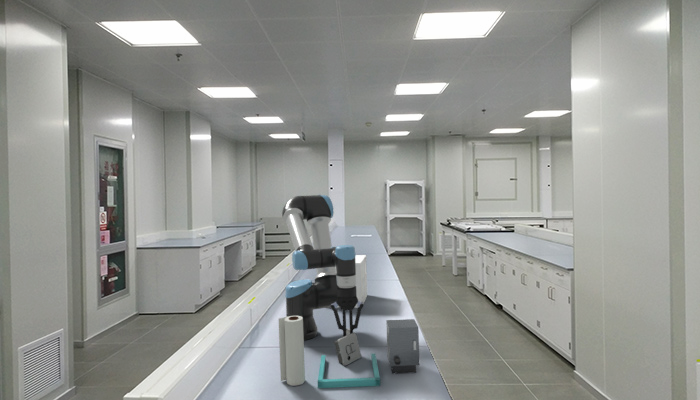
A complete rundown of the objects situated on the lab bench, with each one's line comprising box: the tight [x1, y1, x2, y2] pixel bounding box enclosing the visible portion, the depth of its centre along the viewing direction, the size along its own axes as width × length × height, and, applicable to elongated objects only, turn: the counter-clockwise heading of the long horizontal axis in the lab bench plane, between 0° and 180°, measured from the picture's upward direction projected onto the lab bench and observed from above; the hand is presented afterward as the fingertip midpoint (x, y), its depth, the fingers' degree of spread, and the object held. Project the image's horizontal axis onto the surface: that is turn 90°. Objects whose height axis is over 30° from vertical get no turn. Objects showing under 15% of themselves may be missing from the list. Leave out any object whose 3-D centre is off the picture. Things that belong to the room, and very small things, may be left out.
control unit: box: [385, 318, 420, 374], centre depth 135 cm, size 10×10×16 cm
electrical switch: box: [333, 332, 362, 366], centre depth 144 cm, size 9×5×9 cm, turn 138°
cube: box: [335, 254, 368, 309], centre depth 221 cm, size 25×21×24 cm
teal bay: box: [317, 352, 381, 389], centre depth 134 cm, size 20×20×2 cm
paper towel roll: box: [278, 316, 306, 387], centre depth 129 cm, size 7×6×21 cm
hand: (348, 346), depth 150 cm, fingers closed
